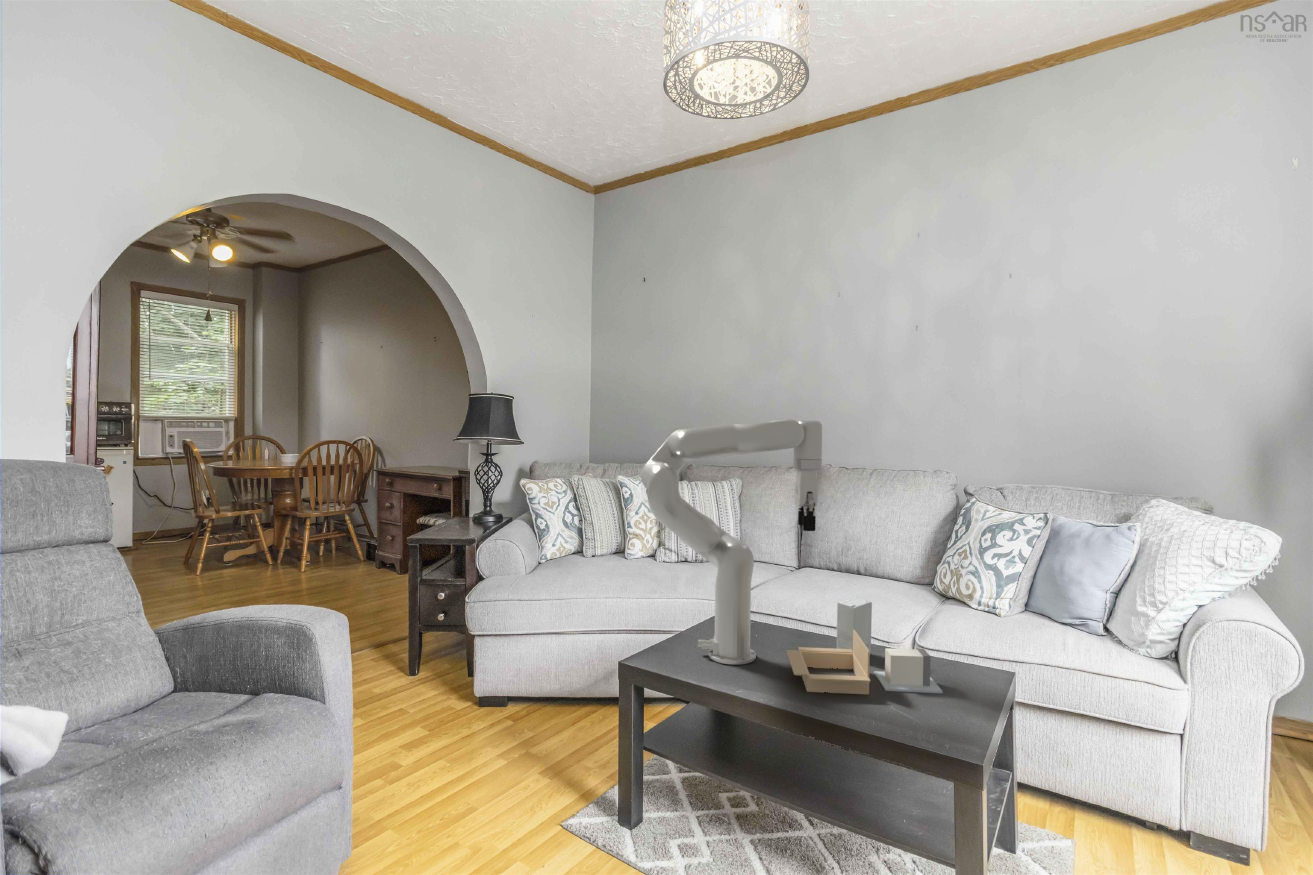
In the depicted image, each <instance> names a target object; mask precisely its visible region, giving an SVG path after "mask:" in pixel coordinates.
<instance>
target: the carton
mask: <svg viewBox="0 0 1313 875" xmlns="http://www.w3.org/2000/svg"><path fill="white" fill-rule="evenodd" d="M786 654H787V656H788V659H789V662H790V667H791V669H792V672H793V675H794V676H801V675H802V676H801V678H803V679H802V681H804V682H803V685H804V686H805V691H806V692H807V693H809V692H810V693H824V692H826V693H827V692H828V693H829V694H850V695H851V694H852V695H870V683H871V678H870V667H871V666H870V663H871V661H870V657H871V654H870V651H869V650H868V649H867V647H866V646H865V644H864V643H863V641H862V640H861V638H860V637H859V635H858V634H857V632H856V631H855V630H853V651H852V649H836V648H832V647H831V648H830V647H829V648H828V647H807V646H804V647H803V646H802V647H801V646H798V649H786ZM807 667H813V668H812V669H830V668H831V669H832V668H833V669H836V670H837V668H838V670H852V669H853V670H852V672H853V673H854V675H840V674H821V673H820V674H818V673H816V674H815V673H810V672H809V669H808V668H807ZM826 693H825V694H826Z"/></svg>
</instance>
